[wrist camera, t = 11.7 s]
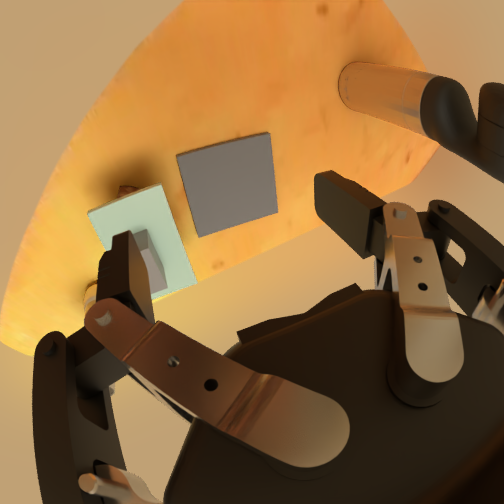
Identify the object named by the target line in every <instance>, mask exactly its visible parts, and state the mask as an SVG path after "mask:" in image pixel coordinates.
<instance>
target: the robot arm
mask: <svg viewBox="0 0 504 504" xmlns="http://www.w3.org/2000/svg"><path fill="white" fill-rule="evenodd" d="M339 93H340V96H341V98H342V100H343V102H344V103H345V104H346V106H347V107H349V108H350V109H352V110H355V111H358V112H361V113H364V114H367V115H370V116H373V117H376V118H379V119H382V120H385V121H387V122H390V123H393V124H396V125H398V126H401V127H404V128H406V129H409V130H411V131H414V132H416V133H419V134H421V135H423V136H426V137H428V138H430V139H432V140H434V141H437V142H438V143H439V144H440V145H441V146H443V147H444V148H446V149H448V150H449V151H451V152H453V153H455V154H457V155H459V156H460V157H462V158H464V159H466V160H467V161H469V162H470V163H472V164H473V165H475V166H477V167H478V168H480V169H481V170H483V171H484V172H486V173H487V174H489V175H491V176H492V177H494V178H495V179H497V180H499V181H501V182H502V183H504V84H501V83H494V82H491V83H486V84H484V85H483V86H482V87H481V89H480V93H479V108H478V122H477V120H476V118H475V115H474V112H473V109H472V106H471V103H470V99H469V96H468V94H467V92H466V90H465V89H464V87H463V86H462V85H461V84H460V83H459V82H457V81H455V80H453V79H450V78H447V77H443V76H439V75H434V74H430V73H426V72H421V71H416V70H411V69H406V68H400V67H394V66H387V65H380V64H373V63H364V62H354V63H351V64H349V65H348V66H346V67H345V68H344V70H343V71H342V73H341V75H340V79H339ZM314 199H315V210H316V213H317V215H318V216H319V218H320V219H321V220H322V221H324V222H325V223H326V224H327V225H328V226H329V227H330V228H331V229H332V230H333V231H334V232H335V233H336V234H337V235H339V236H340V237H341V238H342V239H343V240H344V241H345V242H346V243H347V244H348V245H349V246H350V247H351V248H352V249H353V250H354V251H355V252H356V253H357V254H358V255H359V256H360V257H361V258H362V259H365V258H367V257H370V256H372V255H374V256H375V261H374V273H375V274H374V275H375V290H364V291H362V290H361V289H360V287H359V286H358V285H357V284H356V283H354V284H352V285H350V286H348V287H345V288H343V289H341V290H339V291H337V292H334V293H332V294H330V295H328V296H327V297H326V298H324V299H323V300H322V301H320V302H319V303H318V304H316V305H315V306H314V307H313V308H311V309H310V310H308V311H307V312H305V313H303V314H298V315H293V316H287V317H281V318H276V319H269V320H267V321H264V322H261V323H259V324H256V325H253V326H251V327H248V328H245V329H243V330H240V331H237V335H238V338H239V342H238V343H236V344H235V345H234V346H232V347H231V348H230V349H229V350H228V351H227V352H226V353H225V354H224V355H221V354H219V353H217V352H215V351H214V350H212V349H210V348H208V347H206V346H204V345H202V344H201V343H199V342H197V341H195V340H193V339H192V338H190V337H188V336H186V335H185V334H183V333H181V332H179V331H178V330H176V329H174V328H173V327H171V326H169V325H168V324H166V323H164V322H162V321H157V322H156V323H155V319H154V313H153V306H152V299H151V292H150V284H149V276H148V271H147V267H146V264H145V261H144V259H143V257H142V255H141V252H140V250H139V248H138V246H137V243H136V241H135V239H134V236H133V234H132V232H131V231H130V230H127V231H125V232H122V233H119V234H116V235H114V236H113V237H112V247H111V250H108V251H106V252H104V254H103V256H102V257H101V259H100V261H99V268H98V271H99V272H98V279H97V290H96V303H95V304H94V305H93V306H91V308H90V309H89V310H88V311H87V313H86V315H85V319H84V325H85V326H84V327H82V328H81V329H80V330H78V331H77V332H75V333H74V334H72V335H71V336H69V337H67V338H66V337H65V336H64V335H63V334H62V333H61V332H59V331H53V332H50V333H48V334H46V335H45V336H44V337H43V338H42V339H41V340H40V341H39V343H38V345H37V347H36V349H35V355H34V369H33V389H32V411H33V412H32V416H33V437H34V449H35V458H36V466H37V474H38V480H39V486H40V492H41V497H42V501H43V504H504V246H503V245H502V244H501V243H500V242H499V241H498V240H496V239H495V238H494V237H493V236H492V235H491V234H489V233H488V232H487V231H486V230H484V229H483V228H482V227H481V226H480V225H478V224H477V223H476V222H475V221H473V220H472V219H470V218H469V217H468V216H467V215H465V214H464V213H463V212H462V211H460V210H459V209H458V208H456V207H455V206H453V205H452V204H450V203H448V202H446V201H443V200H432V201H430V202H429V206H428V210H427V212H416V211H415V210H414V209H413V208H412V207H411V206H409V205H407V204H404V203H400V202H390V203H386V202H384V201H383V200H382V199H380V198H379V197H377V196H376V195H374V194H373V193H371V192H369V191H368V190H367V189H365V188H364V187H363V188H362V186H361V185H359V184H358V183H356V182H355V181H352V180H349V179H346V178H344V177H342V176H341V175H339V174H337V173H336V172H334V171H332V170H330V171H325V172H321V173H317V174H316V175H315V177H314ZM451 239H452V240H453V241H454V242H455V243H456V244H458V246H460V247H461V248H462V249H463V250H464V252H465V255H466V260H465V263H464V265H463V267H462V266H461V265H460V264H459V263H458V262H457V261H456V260H455V259H454V258H453V257H452V256H451V255H449V253H448V252H447V249H448V246H449V243H450V240H451ZM447 293H448V294H449V295H450V296H451V298H452V299H453V300H454V301H455V302H456V303H457V304H458V305H459V306H460V308H461V309H462V310H463V311H464V312H465V313H466V314H467V316H466V315H462V314H459V313H456V312H454V311H452V310H451V308H450V304H449V300H448V295H447ZM126 375H128V376H129V377H130V378H131V379H133V380H134V381H135V382H136V383H137V384H139V385H140V386H141V387H142V388H143V389H145V390H146V391H147V392H148V393H150V394H151V395H152V396H154V397H155V398H156V399H157V400H159V401H160V402H161V403H163V404H164V405H165V406H166V407H168V408H169V409H170V410H171V411H172V412H174V413H175V414H176V415H178V416H179V417H180V418H182V419H183V420H185V421H186V422H188V423H189V424H190V425H191V426H190V429H189V431H188V434H187V436H186V439H185V441H184V444H183V446H182V449H181V451H180V454H179V456H178V459H177V461H176V464H175V466H174V469H173V471H172V474H171V476H170V479H169V481H168V484H167V486H166V489H165V492H164V498H163V502H161V501H159V500H157V499H156V498H155V497H154V496H153V495H152V494H151V493H150V491H149V489H148V487H147V485H146V484H145V482H144V481H143V480H142V479H141V478H140V477H139V476H137V475H135V474H133V473H130V472H127V469H126V466H125V462H124V459H123V455H122V451H121V447H120V442H119V438H118V434H117V429H116V424H115V419H114V414H113V409H112V403H111V397H110V391H109V386H110V385H112V384H113V383H115V382H116V381H118V380H119V379H121V378H122V377H124V376H126Z"/></svg>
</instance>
